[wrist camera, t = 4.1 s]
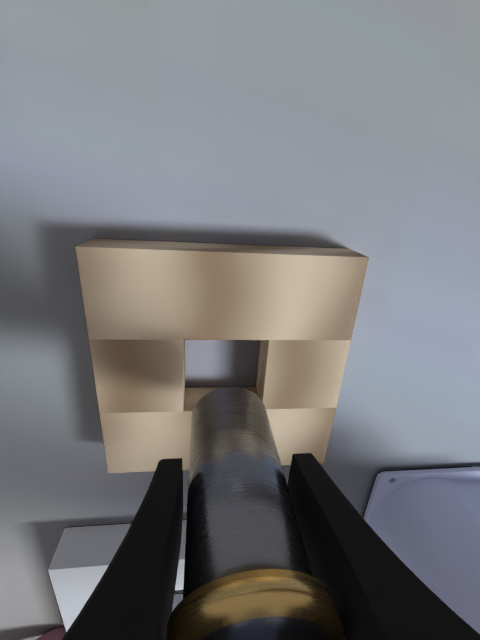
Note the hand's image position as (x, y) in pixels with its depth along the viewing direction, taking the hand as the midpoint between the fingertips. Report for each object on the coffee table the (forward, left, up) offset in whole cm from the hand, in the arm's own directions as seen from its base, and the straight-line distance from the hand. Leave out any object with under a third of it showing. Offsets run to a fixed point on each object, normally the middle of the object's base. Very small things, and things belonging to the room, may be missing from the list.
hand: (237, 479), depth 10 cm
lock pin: (0, 0, -3) cm, 3 cm away
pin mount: (0, 0, -8) cm, 8 cm away
